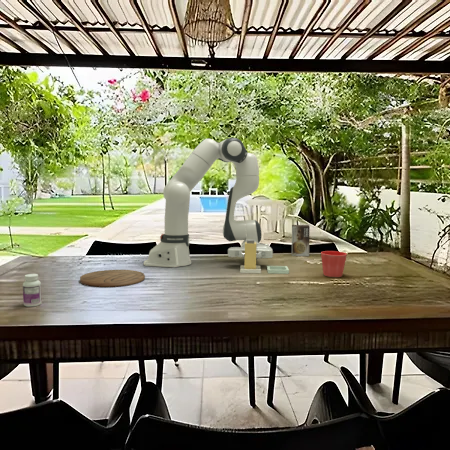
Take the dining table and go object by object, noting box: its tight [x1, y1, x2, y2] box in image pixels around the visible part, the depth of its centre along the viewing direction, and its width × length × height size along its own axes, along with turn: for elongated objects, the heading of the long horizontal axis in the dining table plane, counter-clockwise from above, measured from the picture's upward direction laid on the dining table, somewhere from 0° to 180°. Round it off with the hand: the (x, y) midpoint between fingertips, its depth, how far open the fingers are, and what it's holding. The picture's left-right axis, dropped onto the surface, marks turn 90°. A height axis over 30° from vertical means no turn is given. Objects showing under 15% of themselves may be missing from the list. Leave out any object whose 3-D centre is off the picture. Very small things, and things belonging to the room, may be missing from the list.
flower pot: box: [320, 250, 348, 278], centre depth 187 cm, size 11×11×10 cm
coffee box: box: [291, 224, 311, 257], centre depth 236 cm, size 9×6×16 cm
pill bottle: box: [22, 273, 43, 308], centre depth 140 cm, size 5×5×10 cm
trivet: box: [79, 269, 146, 288], centre depth 176 cm, size 25×25×2 cm
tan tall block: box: [244, 240, 257, 269], centre depth 194 cm, size 5×5×13 cm
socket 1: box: [239, 264, 262, 274], centre depth 195 cm, size 9×9×2 cm
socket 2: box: [266, 265, 290, 275], centre depth 194 cm, size 9×9×2 cm
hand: (250, 255), depth 193 cm, fingers closed on tan tall block, 5 cm apart
